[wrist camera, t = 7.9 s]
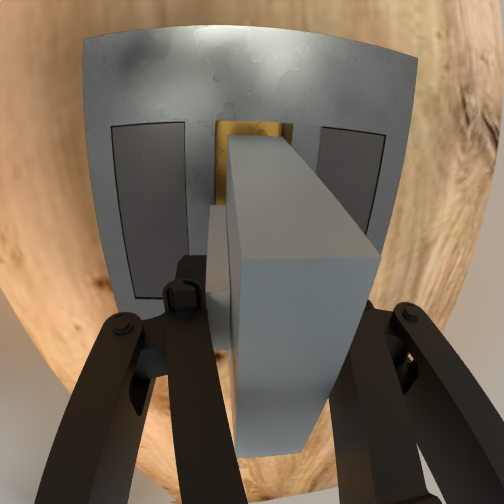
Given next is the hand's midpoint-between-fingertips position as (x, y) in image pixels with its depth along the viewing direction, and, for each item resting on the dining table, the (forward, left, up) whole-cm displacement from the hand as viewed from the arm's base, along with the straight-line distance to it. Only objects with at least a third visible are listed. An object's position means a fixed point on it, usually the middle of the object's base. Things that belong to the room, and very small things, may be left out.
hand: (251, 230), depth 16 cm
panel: (0, 0, 0) cm, 0 cm away
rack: (0, 0, -4) cm, 4 cm away
